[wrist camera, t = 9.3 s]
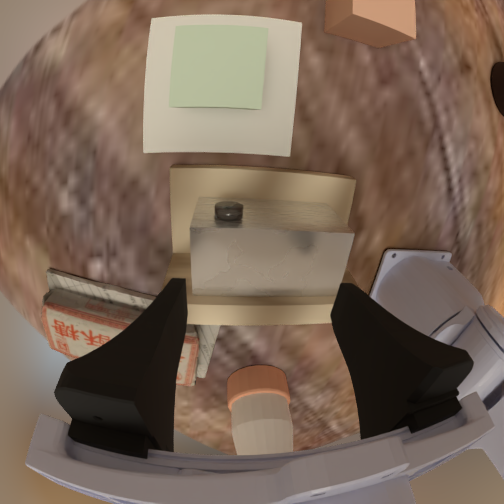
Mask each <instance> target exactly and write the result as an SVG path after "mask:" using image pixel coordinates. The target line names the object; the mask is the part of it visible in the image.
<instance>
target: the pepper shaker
mask: <svg viewBox="0 0 504 504" xmlns="http://www.w3.org/2000/svg"><path fill="white" fill-rule="evenodd" d="M227 395H228V407H229V409H230V410H231V412H232V436H233V440H234V444H235V448H236V452H237V455H261V454H276V453H287V452H293V424H292V420H291V416H290V411H289V407H288V405H289V403H290V394H289V389H288V385H287V380H286V375H285V373H284V372H283V371H282V370H280V369H278V368H276V367H273V366H268V365H255V366H248V367H245V368H242V369H239V370H237V371H236V372H234V373H232V374H231V375H230V377H229V378H228V381H227Z"/></svg>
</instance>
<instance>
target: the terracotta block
mask: <svg viewBox="0 0 504 504" xmlns="http://www.w3.org/2000/svg"><path fill="white" fill-rule="evenodd" d="M324 33H328V34H332V35H336V36H340V37H344V38H347V39H351V40H354V41H357V42H361V43H364V44H367V45H370V46H373V47H376V48H382V47H385V46H389V45H393V44H397V43H401V42H405V41H409V40H414V39H416V16H415V0H326V9H325V29H324Z"/></svg>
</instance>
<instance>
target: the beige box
mask: <svg viewBox="0 0 504 504" xmlns="http://www.w3.org/2000/svg"><path fill="white" fill-rule="evenodd" d="M355 185H356V180H355V179H354V178H352V177H351V176H346V175H339V174H331V173H323V172H314V171H304V170H293V169H282V168H268V167H253V166H232V165H172V166H171V167H170V205H171V227H172V243H173V255H172V258H171V261H170V264H169V267H168V270H167V274H166V277H165V280H164V283H163V286H162V290H163V288H164V287H165V286H166V285H167V283H168V282H169V281H170V279H172V278H186V292H187V308H188V317H187V324H199V325H297V324H320V323H332V321H331V317H330V313H331V311H332V308H333V305H334V302H335V299H336V296H317V297H224V296H193V292H192V275H191V254H190V224H191V221H192V218H193V214H194V211H195V208H196V205H197V202H198V199H199V197H223V198H250V199H270V200H287V201H301V202H315V203H327V204H328V205H329V206H330V207H331V208H332V209H333V210H334V211H335V213H336V214H337V215H338V216H339V217H340V218H341V219H342V220H343V221H344V222H345V223H346V225H347V224H348V219H349V215H350V210H351V205H352V200H353V195H354V190H355ZM341 283H353V284H354V285H356V286H357V287H358V288H359V286H358V285H357V283H356V282H355V280H354V279H353V277H352V275H351V274H350V272H349V271H348V269H347V268H346V269H345V272H344V276H343V279H342V282H341ZM162 290H161V291H162Z"/></svg>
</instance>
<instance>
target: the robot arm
mask: <svg viewBox="0 0 504 504" xmlns="http://www.w3.org/2000/svg"><path fill="white" fill-rule="evenodd" d="M393 254H394V255H393ZM392 255H393V256H392ZM451 256H452V254H451V253H450V252H447V251H425V250H401V249H388V250H386V251H385V253H384V255H383V258H382V261H381V264H380V267H379V270H378V273H377V276H376V279H375V282H374V284H373V287H372V290H371V293H370V295H369V296H368V295H367V294H366V293H365V292H363V291H362V290H361V289H360V288H358V287H357V286H356V285H354V284H353V283H340V286H339V289H338V292H337V296H336V299H335V302H334V305H333V308H332V311H331V313H330V317H331V321H332V326H333V330H334V333H335V336H336V338H337V341H338V344H339V346H340V349H341V351H342V354H343V356H344V359H345V361H346V364H347V366H348V369H349V372H350V375H351V379H352V383H353V388H354V392H355V397H356V403H357V408H358V416H359V423H360V434H361V440H358V441H354V442H350V443H345V444H340V445H335V446H330V447H324V448H318V449H311V450H304V451H296V452H287V453H276V454H261V455H202V454H188V453H177V452H174V449H173V448H174V447H173V446H174V444H173V435H174V405H175V390H176V379H177V372H178V367H179V362H180V358H181V353H182V348H183V344H184V339H185V334H186V327H187V317H188V308H187V292H186V278H172V279H170V281H169V282H168V283H167V285H166V286H165V287H164V288H163V290H162V291H161V292H160V293H159V295H158V296H157V297H156V298H155V299H154V300H153V302H152V303H151V304H150V305H149V306H148V307H147V308H146V309H145V310H144V311H143V312H142V313H141V315H140V316H139V317H138V318H137V319H136V320H134V321H133V322H132V323H131V324H130V325H129V326H128V327H127V328H125V329H124V330H123V331H122V332H120V333H119V334H118V335H116V336H115V337H114V338H112V339H111V340H109V341H108V342H106V343H105V344H103V345H102V346H100V347H98V348H97V349H95V350H93V351H91V352H89V353H88V354H86V355H83V356H81V357H79V358H77V359H75V360H73V361H70V362H68V363H67V364H66V366H65V368H64V369H63V372H62V374H61V376H60V379H59V381H58V384H57V386H56V389H55V392H54V393H55V397H56V399H57V401H58V402H59V404H60V405H61V406H62V407H63V408H64V410H65V411H66V412H67V413H68V414H69V415H70V416H71V418H72V421H71V425H69V424H67V423H66V422H64V421H61V420H59V419H56V418H53V417H50V416H48V415H45V414H40V415H39V418H38V421H37V424H36V427H35V430H34V433H33V437H32V440H31V443H30V447H29V450H28V454H27V458H26V461H25V464H26V465H27V466H28V467H30V468H31V469H33V470H34V471H36V472H38V473H39V474H41V475H43V476H45V477H46V478H48V479H50V480H52V481H54V482H55V483H57V484H60V485H62V486H64V487H67V488H69V489H72V490H75V491H78V492H80V493H83V494H85V495H88V496H91V497H94V498H97V499H100V500H103V501H107V502H110V503H114V504H416V501H415V498H414V495H413V492H412V488H411V485H410V482H409V481H410V480H413V479H415V478H417V477H419V476H421V475H423V474H425V473H427V472H429V471H431V470H433V469H434V468H436V467H438V466H440V465H442V464H444V463H445V462H447V461H449V460H450V459H452V458H454V457H456V456H457V455H459V454H461V453H462V452H464V451H465V450H467V449H476V448H481V449H483V450H484V452H485V453H486V454H487V456H488V457H489V459H490V460H491V461H492V463H493V464H494V466H495V467H496V469H497V470H498V472H499V473H500V475H501V476H502V478H503V479H504V318H503V317H502V316H501V314H499V313H498V312H497V311H496V310H495V309H494V308H493V307H492V306H490V305H484V301H483V298H482V296H481V294H480V292H479V291H478V290H477V289H476V288H475V287H474V286H473V285H472V284H471V283H470V282H469V281H468V280H467V279H466V278H465V277H464V276H463V275H462V274H461V273H460V272H459V271H458V270H457V269H456V268H455V267H454V266H453V265H452V264H451V263H450V259H451Z"/></svg>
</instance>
